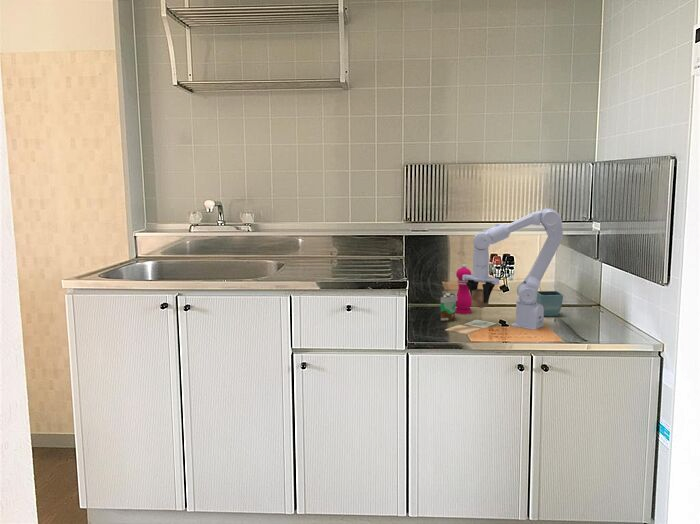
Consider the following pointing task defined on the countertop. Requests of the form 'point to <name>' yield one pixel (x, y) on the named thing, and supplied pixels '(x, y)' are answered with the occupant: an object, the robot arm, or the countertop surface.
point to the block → (478, 298)
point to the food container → (448, 306)
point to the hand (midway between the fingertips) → (480, 301)
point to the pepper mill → (463, 292)
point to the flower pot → (550, 302)
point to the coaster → (462, 329)
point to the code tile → (480, 323)
